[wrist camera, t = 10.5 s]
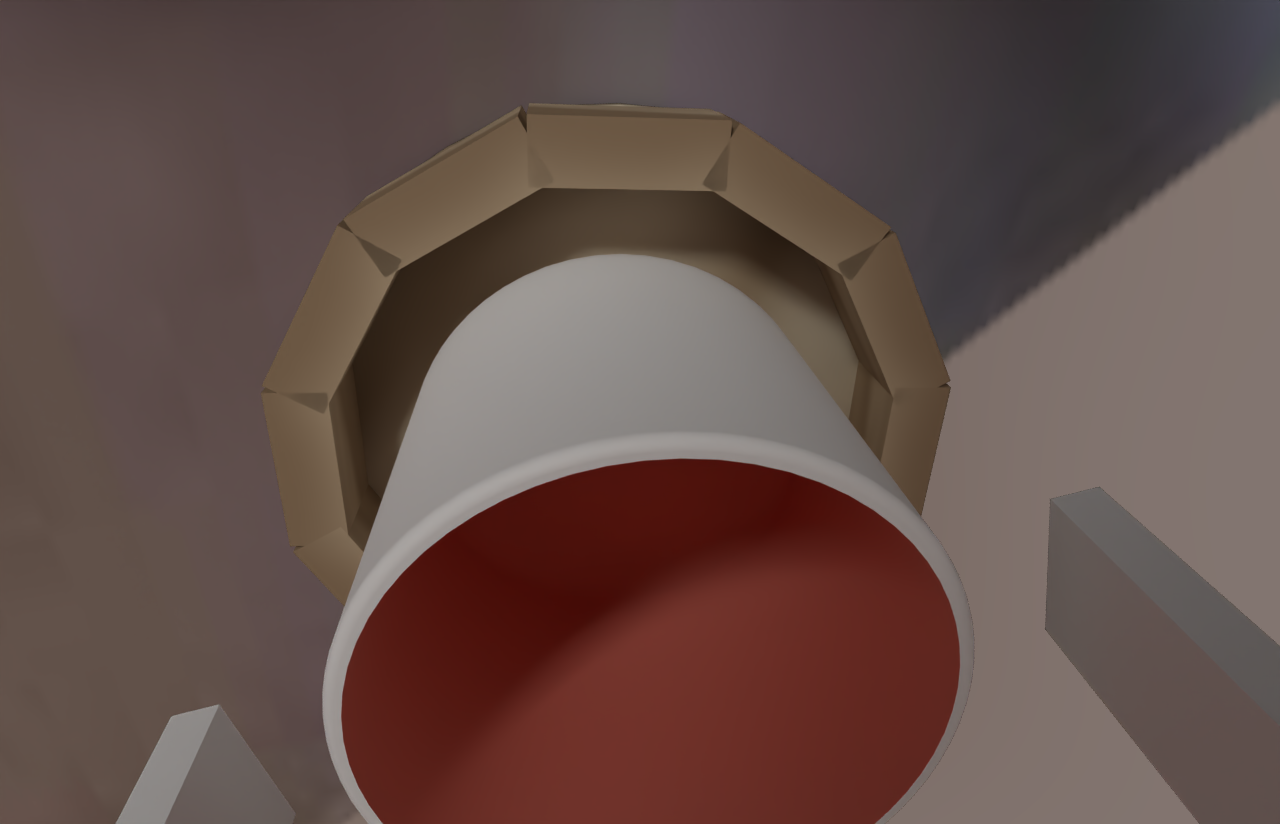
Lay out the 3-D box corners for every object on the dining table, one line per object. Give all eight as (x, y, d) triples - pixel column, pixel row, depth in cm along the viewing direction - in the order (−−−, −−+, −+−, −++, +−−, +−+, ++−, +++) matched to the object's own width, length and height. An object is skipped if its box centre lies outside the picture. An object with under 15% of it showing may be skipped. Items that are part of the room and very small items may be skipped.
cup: (863, 446, 22) (1075, 735, 13) (583, 630, 24) (602, 992, 15) (654, 151, 18) (758, 280, 9) (336, 402, 20) (162, 713, 11)
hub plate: (219, 507, 22) (171, 579, 19) (485, -48, 17) (472, -63, 14) (689, 694, 27) (705, 773, 24) (1005, 310, 22) (1073, 353, 19)
